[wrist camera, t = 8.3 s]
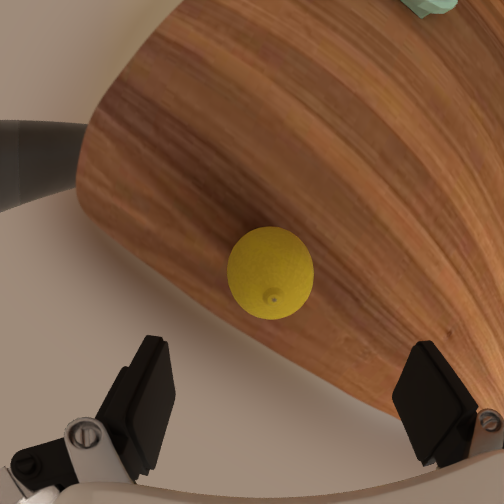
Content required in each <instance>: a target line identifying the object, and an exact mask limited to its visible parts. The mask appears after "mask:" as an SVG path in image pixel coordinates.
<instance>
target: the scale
mask: <svg viewBox="0 0 504 504" xmlns="http://www.w3.org/2000/svg"><path fill="white" fill-rule="evenodd" d="M401 1H402V2H403V3H404V4H405V5H406V6H408V7H409V8H410V9H411V10H412V11H413V12H414V13H415V14H416V15H418V16H419V17H420V18H421V19H422V18H423V17H425V16H427V15H428V14H430V13H435V14H444V13H445V12H447V11H449V10H451V9H453V7H454V6H455V5H456V4H457V2H458V1H457V0H401Z"/></svg>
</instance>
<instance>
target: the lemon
mask: <svg viewBox="0 0 504 504" xmlns="http://www.w3.org/2000/svg"><path fill="white" fill-rule="evenodd" d="M227 277H228V284H229V287H230V290H231V292H232V294H233V297H234V299H235V300H236V301H237V303H238V304H239V305H240V306H241V307H242V308H243V309H244V310H245V311H247V312H248V313H249V314H251V315H254V316H256V317H258V318H263V319H279V318H283V317H286V316H288V315H290V314H292V313H294V312H295V311H297V310H298V309H299V308H300V307H301V306H302V305H303V304H304V303H305V301H306V300H307V298H308V296H309V294H310V292H311V289H312V285H313V278H314V269H313V262H312V258H311V256H310V254H309V251H308V249H307V247H306V246H305V245H304V244H303V242H302V241H301V240H300V239H299V238H298V237H297V236H296V235H294V234H293V233H291V232H290V231H288V230H285V229H282V228H280V227H271V226H268V227H260V228H257V229H255V230H252V231H250V232H248V233H247V234H246V235H244V236H243V237H241V238H240V240H239V241H238V242H237V243H236V245H235V246H234V247H233V250H232V252H231V254H230V256H229V260H228V266H227Z"/></svg>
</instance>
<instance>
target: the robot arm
mask: <svg viewBox="0 0 504 504" xmlns="http://www.w3.org/2000/svg"><path fill="white" fill-rule="evenodd" d="M175 395H176V394H175V387H174V381H173V375H172V368H171V362H170V354H169V348H168V343H167V341H163V338H162V337H158V336H151V335H147V336H146V337H145V338H144V340H143V342H142V344H141V345H140V347H139V349H138V351H137V353H136V355H135V356H134V358H133V360H132V362H131V364H130V366H129V367H127V366H124V367H123V368H122V369H121V370H120V372H119V374H118V376H117V377H116V379H115V381H114V383H113V385H112V387H111V389H110V391H109V392H108V394H107V396H106V398H105V400H104V402H103V404H102V405H101V407H100V409H99V411H98V413H97V415H96V417H95V419H94V418H89V417H82V418H77V419H75V420H73V421H72V422H70V423H69V424H68V425H67V427H66V428H65V432H64V437H63V438H60V439H57V440H54V441H50V442H47V443H44V444H40V445H37V446H34V447H30V448H26V449H22V450H20V451H18V452H17V453H16V454H15V455H14V456H13V458H12V459H11V467H9V468H6V467H5V466H4V467H2V468H1V469H0V504H504V420H503V417H502V416H501V415H500V414H499V413H498V412H497V411H495V410H493V409H488V408H487V409H483V410H481V411H480V412H479V413H478V414H477V412H476V410H477V408H478V407H479V406H478V405H477V403H476V402H475V400H474V399H473V397H472V396H471V394H470V393H469V391H468V390H467V388H466V387H465V386H464V384H463V383H462V381H461V380H460V378H459V377H458V376H457V374H456V373H455V371H454V370H453V369H452V367H451V366H450V365H449V363H448V362H447V361H446V359H445V358H444V356H443V355H442V354H441V352H440V351H439V350H438V349H437V347H436V346H435V345H434V343H433V342H432V341H430V340H429V341H419V342H417V343H416V345H415V346H413V347H412V350H411V352H410V355H409V357H408V360H407V362H406V364H405V367H404V369H403V371H402V374H401V376H400V378H399V380H398V383H397V385H396V387H395V389H394V391H393V394H392V400H393V403H394V405H395V407H396V409H397V412H398V414H399V416H400V418H401V421H402V423H403V425H404V428H405V430H406V432H407V434H408V437H409V440H410V442H411V444H412V447H413V449H414V451H415V454H416V457H417V459H418V460H419V461H421V462H422V465H423V467H425V466H428V465H431V464H434V463H435V462H436V463H437V468H436V470H435V471H432V472H429V473H426V474H423V475H420V476H416V477H413V478H409V479H406V480H402V481H398V482H394V483H390V484H386V485H382V486H377V487H372V488H367V489H362V490H356V491H350V492H343V493H336V494H328V495H319V496H307V497H289V498H243V497H226V496H214V495H204V494H196V493H187V492H181V491H175V490H168V489H162V488H156V487H149V486H144V485H137V483H136V482H135V480H137V479H138V477H139V474H142V475H146V476H148V474H149V470H150V469H151V470H154V469H155V466H156V463H157V459H158V456H159V452H160V449H161V445H162V442H163V438H164V435H165V431H166V428H167V425H168V421H169V418H170V415H171V411H172V408H173V405H174V401H175Z"/></svg>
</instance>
